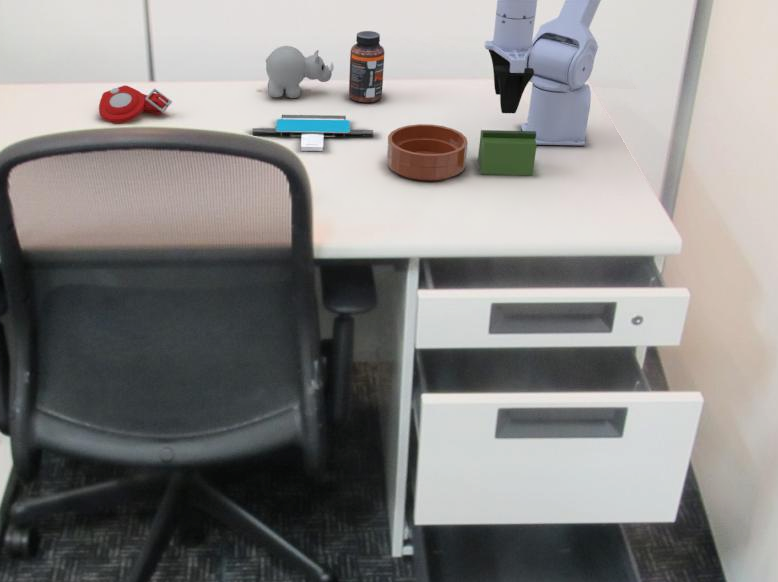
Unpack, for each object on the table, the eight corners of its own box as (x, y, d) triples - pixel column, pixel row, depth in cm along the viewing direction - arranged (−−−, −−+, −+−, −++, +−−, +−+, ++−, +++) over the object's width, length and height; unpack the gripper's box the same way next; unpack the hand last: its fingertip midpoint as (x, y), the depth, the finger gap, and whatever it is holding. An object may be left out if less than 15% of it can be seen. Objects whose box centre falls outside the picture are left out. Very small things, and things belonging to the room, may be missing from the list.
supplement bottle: (379, 105, 196) (382, 40, 189) (346, 102, 197) (348, 38, 190) (384, 93, 201) (387, 30, 194) (351, 90, 202) (353, 27, 195)
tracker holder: (104, 121, 186) (88, 88, 192) (111, 142, 190) (95, 108, 195) (172, 96, 188) (154, 64, 194) (177, 117, 191) (159, 85, 197)
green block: (528, 162, 177) (533, 126, 173) (533, 175, 173) (538, 138, 169) (476, 161, 177) (480, 124, 173) (480, 174, 173) (484, 137, 169)
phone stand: (250, 150, 180) (249, 140, 179) (254, 122, 189) (254, 112, 188) (374, 152, 180) (374, 142, 179) (372, 123, 189) (372, 114, 188)
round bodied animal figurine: (334, 101, 197) (335, 53, 192) (266, 101, 197) (265, 53, 192) (331, 86, 203) (333, 40, 198) (265, 87, 203) (265, 40, 198)
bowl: (461, 151, 180) (463, 124, 177) (467, 183, 170) (470, 156, 168) (385, 150, 180) (386, 123, 178) (387, 182, 170) (389, 154, 168)
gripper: (483, -2, 169) (474, 85, 177) (494, 28, 158) (484, 120, 166) (529, -2, 169) (518, 86, 177) (544, 29, 158) (532, 121, 166)
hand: (505, 103), depth 171 cm, fingers open, 7 cm apart
